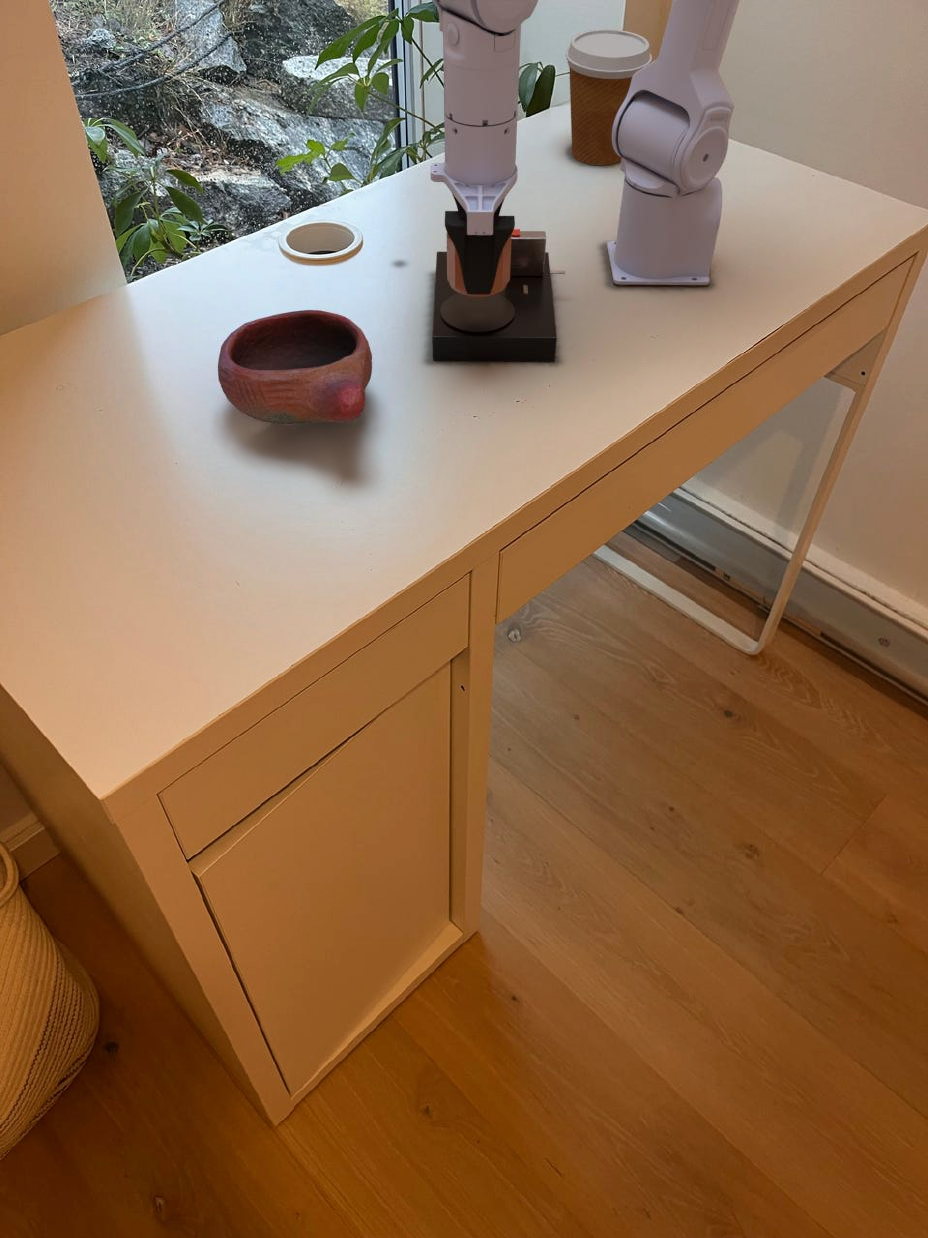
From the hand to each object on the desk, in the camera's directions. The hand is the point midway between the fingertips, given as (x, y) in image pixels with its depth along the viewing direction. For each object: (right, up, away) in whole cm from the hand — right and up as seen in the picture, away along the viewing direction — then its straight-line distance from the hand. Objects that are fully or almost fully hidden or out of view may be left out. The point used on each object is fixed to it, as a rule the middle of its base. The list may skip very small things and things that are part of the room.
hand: (478, 273), depth 86 cm
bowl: (-14, -13, -3) cm, 19 cm away
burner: (0, -3, +3) cm, 4 cm away
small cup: (0, -1, 0) cm, 1 cm away
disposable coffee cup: (+15, +25, +30) cm, 42 cm away
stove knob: (+5, +3, +7) cm, 9 cm away
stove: (+2, -2, +7) cm, 7 cm away
